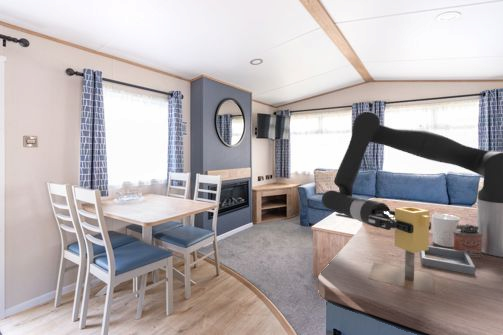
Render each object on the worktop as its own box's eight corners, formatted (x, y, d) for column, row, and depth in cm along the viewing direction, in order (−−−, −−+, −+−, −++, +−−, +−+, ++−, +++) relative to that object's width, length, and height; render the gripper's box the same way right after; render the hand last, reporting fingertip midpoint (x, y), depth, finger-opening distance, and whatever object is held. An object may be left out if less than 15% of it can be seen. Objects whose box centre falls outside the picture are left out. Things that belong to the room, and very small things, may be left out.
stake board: (431, 277, 66) (432, 240, 66) (434, 298, 57) (436, 255, 56) (373, 265, 74) (374, 231, 73) (368, 282, 65) (369, 244, 64)
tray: (466, 261, 75) (466, 251, 75) (474, 278, 65) (475, 267, 65) (420, 253, 81) (420, 244, 81) (422, 267, 72) (422, 257, 71)
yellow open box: (394, 245, 65) (394, 208, 64) (409, 242, 66) (410, 206, 66) (419, 255, 58) (419, 214, 58) (435, 252, 60) (435, 212, 59)
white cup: (433, 238, 95) (434, 212, 94) (459, 243, 89) (460, 216, 88) (429, 243, 89) (429, 217, 88) (457, 249, 84) (458, 221, 83)
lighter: (476, 252, 81) (477, 223, 80) (484, 257, 78) (486, 226, 77) (450, 252, 82) (451, 222, 81) (457, 256, 78) (458, 226, 78)
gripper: (349, 202, 74) (399, 216, 58) (387, 198, 78) (442, 209, 62) (350, 226, 75) (398, 246, 58) (387, 221, 79) (442, 238, 63)
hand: (421, 227), depth 60 cm, fingers closed on yellow open box, 5 cm apart
